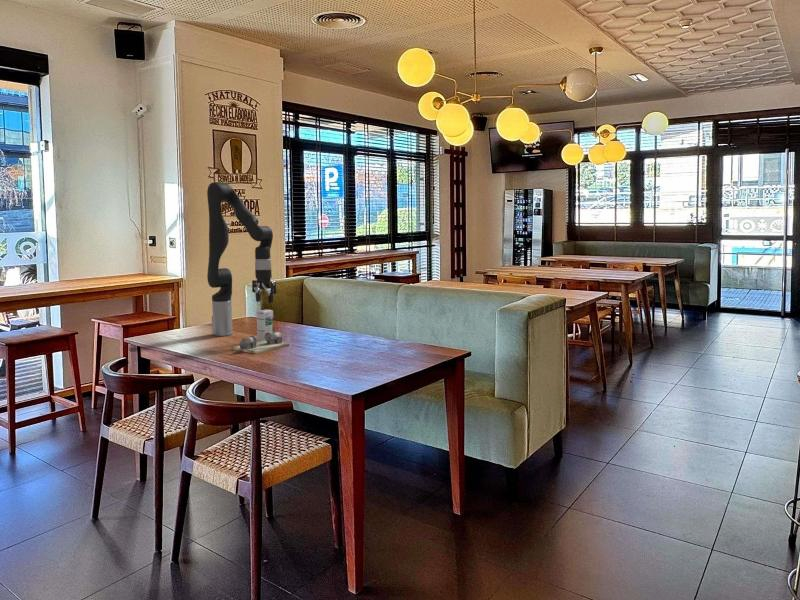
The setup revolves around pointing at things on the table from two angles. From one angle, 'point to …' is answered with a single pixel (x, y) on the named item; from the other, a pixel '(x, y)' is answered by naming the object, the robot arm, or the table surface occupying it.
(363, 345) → the table surface
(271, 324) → the syrup box
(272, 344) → the shaft bed
